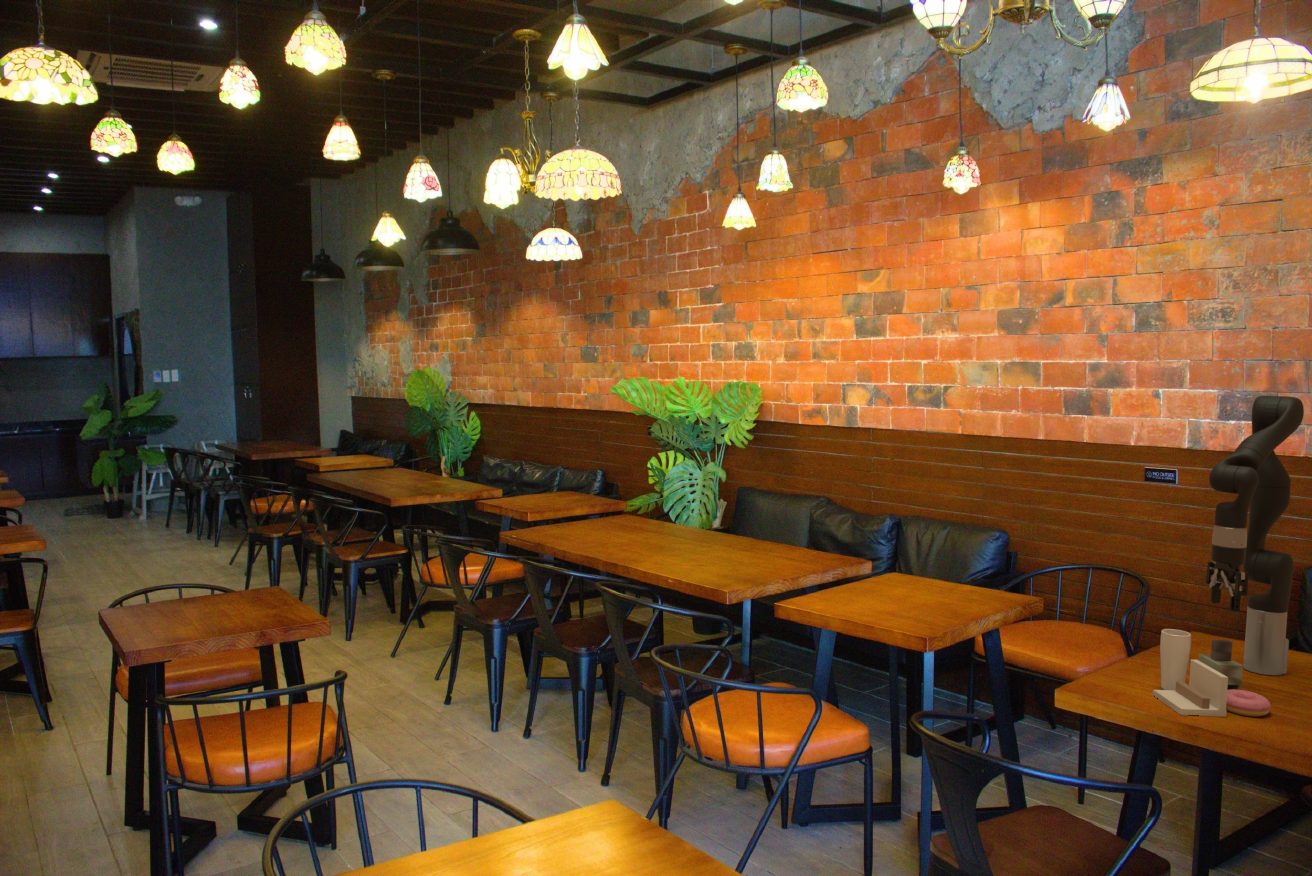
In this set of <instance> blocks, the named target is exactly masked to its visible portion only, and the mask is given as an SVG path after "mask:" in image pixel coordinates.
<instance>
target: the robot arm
mask: <svg viewBox="0 0 1312 876" xmlns="http://www.w3.org/2000/svg"><path fill="white" fill-rule="evenodd" d="M1253 401H1254V402H1253V403H1252V407H1251V409H1252V410H1251V434H1250V435H1248V436H1247V437H1245V438H1244V439H1243V440H1242V441H1241V442H1240V443H1239V444H1238V446H1237V448H1236V449H1235V451H1234V452H1233V453H1232V454H1230V455H1229V456H1227V457H1225V458H1224V459H1222V460H1221V461H1219V462H1218V463H1216V464H1215V466H1214V467H1213V468H1212V469H1211V471H1210V473H1209V476H1208V477H1209V478H1208V482H1209V483H1208V484H1209V485H1210V488H1211V489H1213V490H1214V491H1215V492H1219V493H1225V494H1226V493H1227V494H1235V495H1237V497H1236V498H1235V500H1234V501H1222V502H1219V503H1217V504H1216V506H1215V513H1214V514H1215V515H1214V525H1213V531H1212V538H1211V551H1210V552H1211V553H1210V554H1211V555H1210V560H1211V561H1207V565H1206V576H1205V584H1206V585H1209V588H1210V598H1209V599H1210V603H1211V604H1220V603H1221V599H1222V589H1221V588H1222V587H1223V585H1225V588H1226V589H1228V591H1229V595H1230V596H1229V605H1228V606H1229V607H1228V608H1229V609H1228V610H1229V611H1231V612H1240V609H1241V601H1242V599H1241V598H1242V597H1247V596H1248V589H1249V588H1248V586H1249V581H1250V582H1255V583H1259V584H1265V585H1270V590H1269V591H1268V592H1266V593H1260V594H1253V595H1250V596H1248V600H1247V609H1246V623H1245V624H1246V626H1245V635H1244V636H1245V637H1244V638H1245V639H1244V650H1243V651H1244V652H1243V663H1242V665H1243V669H1244V670H1247V671H1248V672H1252V673H1255V674H1259V675H1265V676H1281V675H1287V671H1288V658H1289V646H1290V645H1289V644H1290V640H1289V639H1288V638H1286V637H1287V636H1286V635H1287V625H1288V624H1287V620H1288V610H1289V609H1288V608H1289V605H1290V604H1289V602H1290V600H1291V590H1292V583H1293V577H1294V576H1293V575H1294V569H1295V568H1294V566H1295V565H1294V564H1295V563H1294V560H1293V557H1292V556H1291V554H1289V553H1286V552H1282V551H1276V550H1270V549H1265V545H1266V539H1267V535H1268V533H1269V532H1270V531H1271V529H1272V527H1273V525H1275V523H1276V522H1277V521H1278V520H1279V519H1280V518H1281V517H1282V515H1283V514H1284V513H1285V512H1286V510H1287V509H1288V507H1289V505H1290V502H1291V486H1292V485H1291V484H1292V482H1291V481H1292V480H1291V477H1290V474H1289V473H1288V471H1287V469H1286V468H1285V465H1284V464H1283V463H1282V461H1281V460H1280V458H1279V457H1278V455H1277V454H1276V452H1275V449H1276V448H1277V447H1279V446H1280V445H1281V444H1282V443H1283V442H1284V441H1286V440H1287V439H1288V438H1289V437H1290V436H1291V435H1292V434H1294V433H1295V432H1296V430H1298V428H1299V427H1300V426H1301V424H1302V422H1303V419H1304V413H1305V409H1304V404H1303V402H1302V400H1301V399H1300V398H1298V397H1294V396H1290V395H1289V396H1287V395H1286V396H1284V395H1258V396H1256V398H1255V399H1254V400H1253ZM1242 565H1243V571H1241V568H1240V567H1241V566H1242Z"/></svg>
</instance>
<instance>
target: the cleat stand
mask: <svg viewBox="0 0 1312 876" xmlns="http://www.w3.org/2000/svg"><path fill="white" fill-rule="evenodd" d="M1227 686H1228V677H1227V676H1225V675H1223V674H1221V673H1220V672H1218V671H1216V670H1214V669H1212V668H1211V667H1209V666H1207V665H1205V664H1204V663H1202V662H1200V661H1199V659H1190V667H1189V681H1188V684H1187V683H1186V682H1185V683H1184V682H1176V690H1164V689H1153V690H1152V696H1153V697H1154V696H1155V697H1154V698H1156V699H1157V698H1158V699H1157V700H1158V701H1160V702H1161V703H1163V704H1164V705H1165V706H1167V707H1168V708H1170V707H1171V708H1170V709H1172V710H1173V711H1174V712H1176V713H1177V714H1179V715H1180V714H1181V715H1180V716H1188V715H1199V716H1198V717H1221V718H1224V717H1225V718H1226V717H1227V714H1228V713H1227V712H1228V711H1227V710H1226V701H1227Z"/></svg>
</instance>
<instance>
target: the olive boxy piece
mask: <svg viewBox="0 0 1312 876" xmlns="http://www.w3.org/2000/svg"><path fill="white" fill-rule="evenodd" d="M1210 649H1211V651H1210V654H1205V653H1204V654H1203V653H1202V654H1201V653H1199V655H1198V661H1200V662H1202V663H1204V664H1205V665H1207V666H1209V667H1211V668H1212V669H1214V670H1216V671H1218V672H1220V673H1221V674H1223V675H1225V676H1227V677H1228V686H1227V690H1231V689H1237V690H1242V685H1243V675H1244V674H1243V672H1244V667H1243V664H1241V663H1239V662H1238V661H1236V660H1233V659H1232V655H1233V653H1232V651H1233V641H1231V640H1230V639H1214V638H1213V639H1211V648H1210Z"/></svg>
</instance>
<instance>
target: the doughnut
mask: <svg viewBox="0 0 1312 876" xmlns="http://www.w3.org/2000/svg"><path fill="white" fill-rule="evenodd" d="M1271 707H1272V705H1271V703H1270V701H1269V698H1267V697H1265V696H1264V695H1263V694H1262V695H1261V694H1259V693H1256V692H1254V691H1249V690H1246V689H1245V690H1244V689H1241V690H1237V689H1231V690H1227V701H1226V710H1227V712H1230V713H1232V714H1236V715H1240V716H1244V717H1264V716H1266V715H1268V714H1269V713H1270V711H1271Z"/></svg>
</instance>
